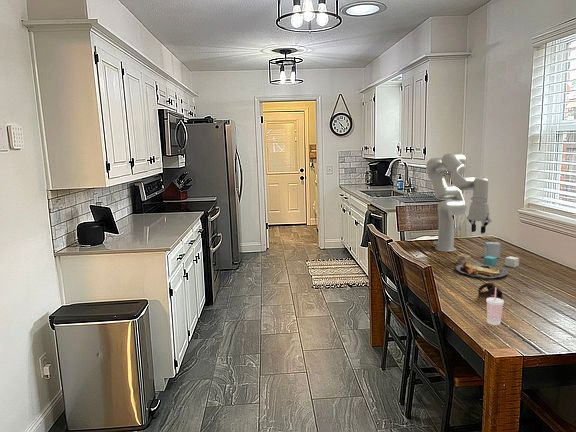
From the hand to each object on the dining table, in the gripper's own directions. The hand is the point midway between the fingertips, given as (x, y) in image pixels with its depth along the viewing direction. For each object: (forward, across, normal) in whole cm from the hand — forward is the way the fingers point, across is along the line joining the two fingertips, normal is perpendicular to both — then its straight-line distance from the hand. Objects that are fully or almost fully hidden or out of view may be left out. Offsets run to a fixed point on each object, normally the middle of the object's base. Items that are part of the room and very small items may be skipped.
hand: (478, 232), depth 245 cm
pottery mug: (+18, +37, -49) cm, 64 cm away
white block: (+17, +16, +8) cm, 25 cm away
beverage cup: (+18, +51, -72) cm, 90 cm away
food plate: (+18, +13, -17) cm, 28 cm away
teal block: (+17, +8, 0) cm, 19 cm away
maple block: (+17, -3, -8) cm, 19 cm away
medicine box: (+18, 0, +16) cm, 24 cm away
